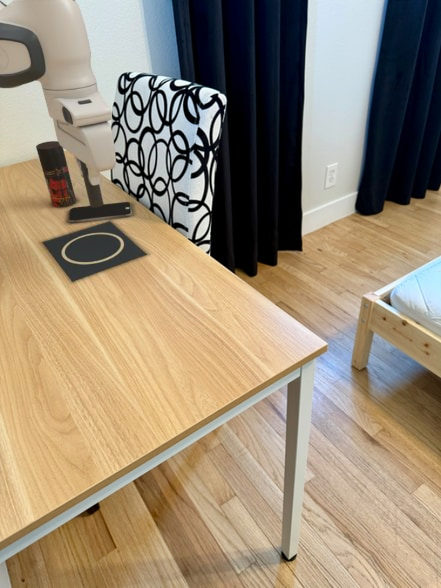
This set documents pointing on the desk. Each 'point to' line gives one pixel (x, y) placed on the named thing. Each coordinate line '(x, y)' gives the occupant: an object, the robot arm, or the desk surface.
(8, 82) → the robot arm
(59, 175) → the deodorant
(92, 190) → the marker
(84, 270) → the desk pad
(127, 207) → the smartphone
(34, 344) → the desk surface
